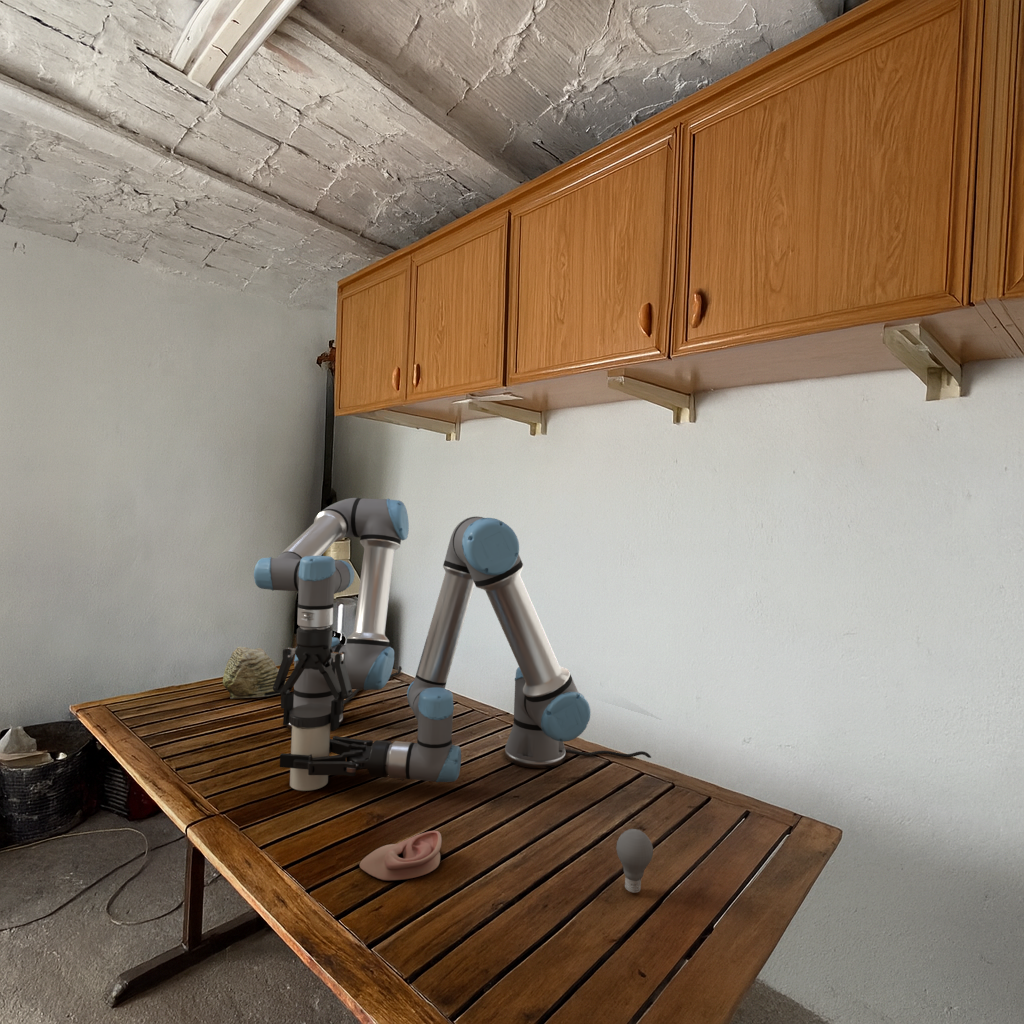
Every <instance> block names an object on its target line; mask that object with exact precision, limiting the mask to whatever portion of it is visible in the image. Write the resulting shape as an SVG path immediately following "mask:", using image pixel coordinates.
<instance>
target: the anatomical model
mask: <svg viewBox="0 0 1024 1024" xmlns="http://www.w3.org/2000/svg"><path fill="white" fill-rule="evenodd" d="M442 843H443V838H442V834H441V833H440V831H438V830H429V831H426V832H422V833H418V834H416V835H414V836H411V837H410V838H407V839H404V840H403V841H400V842H397V843H390V844H386V845H382V846H380V847H378V848H375V850H373V851H371V852H370V853H369V854H367V855H366V856H364V857H363V859H362V860H361V861H360V863H359V868H360V869H361V870H362V871H363V872H365V873H367V874H368V875H370V876H372V877H374V878H376V879H378V880H381V881H389V882H390V881H401V880H409V879H413V878H418V877H421V876H424V875H427V874H430V873H431V872H433V871H435V870H436V869H437V868H438V867H439V866H440V863H441V862H440V861H441V853H440V851H441V848H442Z"/></svg>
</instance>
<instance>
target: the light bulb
mask: <svg viewBox="0 0 1024 1024" xmlns="http://www.w3.org/2000/svg"><path fill="white" fill-rule="evenodd" d="M615 849H616V854H617V857H618V859H619V861H620V863H621V865H622V867H623V873H624V874H623V875H624V876H625V878H624V888H625V890H627V891H628V892H630V893H634V894H635V893H639V892H640V891H641V889H642V887H641V886H642V879H643V877H644V875H645V871H646V868H647V867H648V866H649V864H650V863H651V861H652V859H653V855H654V847H653V843H652V841H651V838H649V836H648V835H647V834H646V833H645V832H643V831H642V830H641V829H636V828H629V829H627V830H625V831H623V832H622V833H621V834H620V835H619V837H618V839H617V841H616V847H615Z"/></svg>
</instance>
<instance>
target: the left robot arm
mask: <svg viewBox="0 0 1024 1024" xmlns="http://www.w3.org/2000/svg"><path fill="white" fill-rule="evenodd" d="M409 527H410V525H409V514H408V511H407V507H406V505H405V503H404V502H403V501H401V500H398V499H390V498H365V497H363V498H362V497H350V498H349V497H348V498H345V499H341V500H338V501H337V502H334V503H332V504H330V505H329V506H327V507H325V508H324V509H322V510H321V511H319V513H318V514H317V515H316V516H315V517H314V519H313V523H312V524H311V525H310V526H309V527H308V528H307V529H306V530H304V531H303V532H302V533H301V534H300V535H299V536H298V537H297V538H296V539H294V541H293V542H291V543H290V544H289V545H288V546H287V547H286V548H285V549H284V550H283V551H282V552H281V553H280V554H279V555H278V556H276V557H271V556H270V557H261V558H260V559H259V560H258V561H257V562H256V563H255V566H254V570H253V579H254V583H255V585H256V587H257V588H259V589H260V590H261V589H262V590H270V591H281V592H282V591H285V592H297V593H298V596H297V597H298V599H297V601H298V602H297V622H296V623H297V625H298V628H297V629H296V647H293V646H288V647H286V648H284V649H283V650H282V660H281V663H280V666H279V668H278V669H279V671H278V674H277V677H276V680H275V683H274V686H273V690H274V691H278V692H280V694H279V695H280V709H283V716H282V717H283V720H282V721H283V722H282V723H283V726H286V728H287V729H289V730H292V725H291V724H290V722H289V713H290V710H291V709H293V708H294V707H297V706H301V705H306V704H324V705H329V706H331V723H330V732H334V731H335V730H337V729H339V728H340V725H342V723H343V722H344V714H343V713H344V706H345V704H347V703H348V702H350V701H351V700H352V699H353V698H354V697H355V696H356V695H357V693H358V692H360V691H361V690H364V691H379V690H382V689H383V688H384V687H385V686H386V685H387V684H388V682H389V680H390V678H393V677H396V676H398V675H400V673H401V672H402V670H403V668H402V666H401V665H399V666H398V670H397V671H396V672H393V668H394V663H395V650H394V648H393V647H391V646H390V640H389V639H388V637H387V636H386V625H387V617H388V609H389V601H390V600H389V599H390V592H391V584H392V583H391V582H392V573H393V566H394V557H395V552H396V551H397V550H398V549H400V548H401V542H402V541H405V540H407V539H408V536H409V529H410V528H409ZM343 538H359V543H360V545H361V546H362V547H363V556H362V563H361V572H360V580H359V588H358V594H357V595H358V597H357V601H356V604H357V605H356V610H355V619H354V626H353V631H352V633H351V634H350V635H348V636H347V638H346V643H345V644H341V641H340V639H339V638H338V637H334V636H333V627H332V625H333V624H334V603H335V602H334V600H335V595H336V594H339V593H341V592H344V591H346V590H347V589H349V588H350V587H351V586H352V584H353V583H354V580H355V571H354V568H353V566H352V565H351V564H350V562H348V561H346V560H344V559H343V560H342V559H334V558H333V557H332V556H329V555H324V553H326V551H327V550H328V549H329V548H330V547H331V546H332V545H333V544H334V543H336V542H339V541H340V540H342V539H343ZM293 661H294V669H292V672H291V674H290V675H289V672H290V669H291V666H292V663H293ZM392 672H393V673H392ZM397 672H398V673H397ZM288 675H289V676H288ZM287 677H288V678H287ZM285 681H286V683H285ZM284 683H285V684H284ZM292 689H293V691H292ZM353 689H354V691H353Z"/></svg>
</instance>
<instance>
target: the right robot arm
mask: <svg viewBox="0 0 1024 1024" xmlns="http://www.w3.org/2000/svg"><path fill="white" fill-rule="evenodd" d="M442 568H443V570H444V572H445V573H444V577H443V580H442V584H441V587H440V590H439V594H438V597H437V600H436V605H435V608H434V611H433V613H432V618H431V621H430V625H429V628H428V632H427V636H426V639H425V642H424V645H423V649H422V654H421V657H420V660H419V663H418V667H417V669H416V674H415V676H414V680H413V681H412V682H411V683H410V684H409V686H408V688H407V690H406V697H407V698H406V699H407V703H408V705H409V707H410V709H411V710H412V712H413V714H414V716H415V719H416V721H417V739H416V742H412V741H411V742H410V741H397V740H395V741H393V742H392V741H390V740H379V739H378V740H375V741H374V740H372V739H369V740H368V739H358V738H352V737H351V738H350V737H345V736H337V735H334V736H332V738H330V749H329V754H331V753H332V754H336V755H329V756H325V757H315V758H312V754H311V755H297V754H291V753H280V754H279V768H285V769H290V768H296V769H308V775H328V776H348V777H355V776H357V775H356V774H357V771H361V770H367V772H368V774H369V776H370V777H372V778H381V779H382V778H383V779H385V778H388V777H389V778H390V779H399V780H400V781H404V780H413V781H425V782H426V781H427V782H434V783H454V782H456V781H458V778H459V777H460V773H461V766H462V765H461V764H462V749H461V747H460V746H459V745H455V744H453V720H454V710H455V705H454V694H453V692H452V691H451V690H449V689H447V688H446V686H447V681H448V678H449V675H450V672H451V667H452V665H453V661H454V657H455V654H456V651H457V648H458V644H459V640H460V637H461V633H462V630H463V627H464V624H465V619H466V618H467V617H466V616H467V613H468V610H469V606H470V602H471V599H472V596H473V592H474V589H475V587H476V588H478V589H480V590H483V591H484V592H485V593H486V595H487V598H488V601H489V602H490V605H491V608H492V609H493V611H494V614H495V615H496V618H497V620H498V622H499V625H500V627H501V630H502V632H503V634H504V636H505V638H506V641H507V643H508V646H509V647H510V650H511V652H512V654H513V656H514V658H515V661H516V663H517V666H518V667H517V668H516V670H515V677H514V700H513V701H514V703H513V706H514V707H513V725H512V727H511V729H510V733H509V735H508V737H507V741H506V743H505V747H504V757H505V758H506V759H507V760H508V762H510V763H512V764H514V765H516V766H520V767H524V768H527V769H549V768H554V767H558V766H560V765H561V764H563V763H564V762H565V760H566V754H573V755H577V756H581V757H592V756H597V755H611V756H615V757H620V758H633V757H637V756H645V757H647V759H651V758H652V756H651V754H649V753H648V752H646V751H644V750H643V751H642V750H641V751H636V752H632V753H623V752H617V751H611V750H595V751H590V752H584V751H578V750H575V749H567V748H566V747H565V743H566V742H570V741H573V740H575V739H577V738H579V736H581V735H582V734H583V732H584V731H585V730H586V729H587V727H588V724H589V723H590V719H591V706H590V703H589V701H588V699H587V698H586V697H585V696H584V695H583V694H582V693H580V692H579V690H578V688H577V686H576V684H575V681H574V679H573V677H572V674H571V673H570V671H569V669H568V668H566V667H563V666H561V665H560V663H559V661H558V659H557V657H556V653H555V652H554V649H553V647H552V645H551V643H550V641H549V638H548V636H547V633H546V631H545V629H544V626H543V624H542V621H541V620H540V617H539V614H538V613H537V610H536V608H535V605H534V603H533V602H532V599H531V596H530V594H529V592H528V589H527V587H526V584H525V582H524V580H523V578H522V576H521V574H522V571H523V569H524V563H523V560H522V559H521V556H520V542H519V539H518V536H517V534H516V532H515V531H514V530H513V528H511V526H510V525H508V524H507V523H505V521H502V520H500V519H497V518H494V517H484V516H470V517H467V518H464V519H462V521H459V523H458V524H457V525H456V526H455V527H454V529H453V531H452V533H451V535H450V538H449V542H448V546H447V550H446V554H445V557H444V560H443V565H442ZM616 752H617V753H616Z"/></svg>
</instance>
